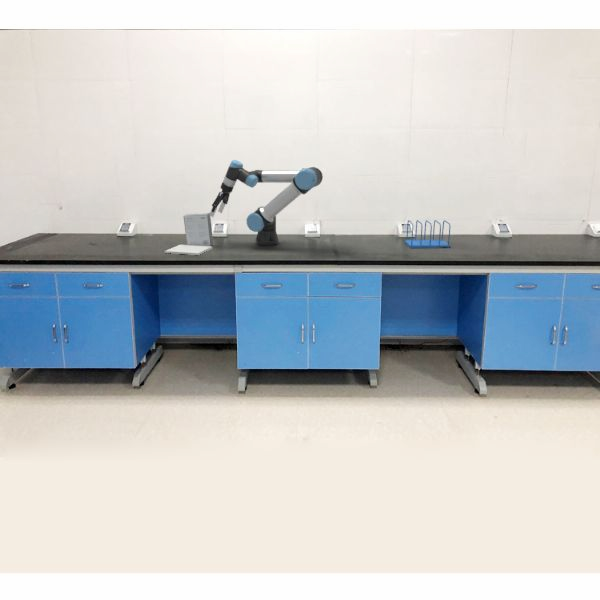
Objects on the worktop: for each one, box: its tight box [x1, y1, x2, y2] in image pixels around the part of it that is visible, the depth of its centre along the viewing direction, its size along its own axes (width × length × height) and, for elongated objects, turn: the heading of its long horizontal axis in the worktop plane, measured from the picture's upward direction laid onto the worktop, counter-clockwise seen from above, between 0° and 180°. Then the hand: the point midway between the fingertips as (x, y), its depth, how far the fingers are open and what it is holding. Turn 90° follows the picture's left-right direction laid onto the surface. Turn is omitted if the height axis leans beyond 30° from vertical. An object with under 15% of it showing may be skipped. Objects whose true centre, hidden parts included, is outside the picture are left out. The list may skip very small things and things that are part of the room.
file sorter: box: [404, 219, 451, 249], centre depth 371 cm, size 25×17×15 cm
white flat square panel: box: [164, 244, 213, 256], centre depth 358 cm, size 22×20×2 cm
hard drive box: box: [183, 212, 214, 246], centre depth 369 cm, size 16×8×20 cm, turn 85°
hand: (215, 214), depth 372 cm, fingers open, 13 cm apart
